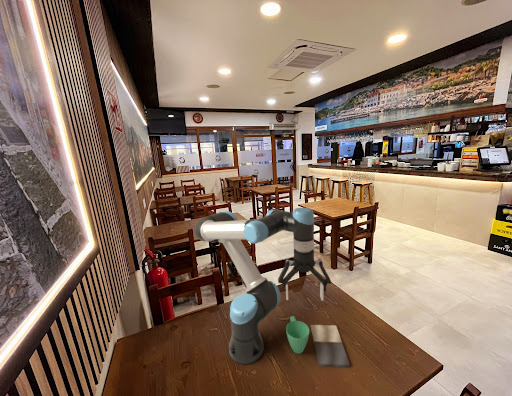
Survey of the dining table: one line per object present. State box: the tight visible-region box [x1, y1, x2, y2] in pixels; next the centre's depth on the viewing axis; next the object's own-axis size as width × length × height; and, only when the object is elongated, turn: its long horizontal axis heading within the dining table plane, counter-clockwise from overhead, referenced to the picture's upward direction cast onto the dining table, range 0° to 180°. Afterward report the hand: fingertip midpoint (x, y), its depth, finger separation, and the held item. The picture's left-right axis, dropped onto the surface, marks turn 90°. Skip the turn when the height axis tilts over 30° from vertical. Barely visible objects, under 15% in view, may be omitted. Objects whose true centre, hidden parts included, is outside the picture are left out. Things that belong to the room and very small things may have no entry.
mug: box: [285, 315, 310, 355], centre depth 98 cm, size 15×10×10 cm
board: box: [310, 324, 351, 368], centre depth 97 cm, size 12×20×2 cm, turn 175°
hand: (304, 298), depth 88 cm, fingers open, 13 cm apart
